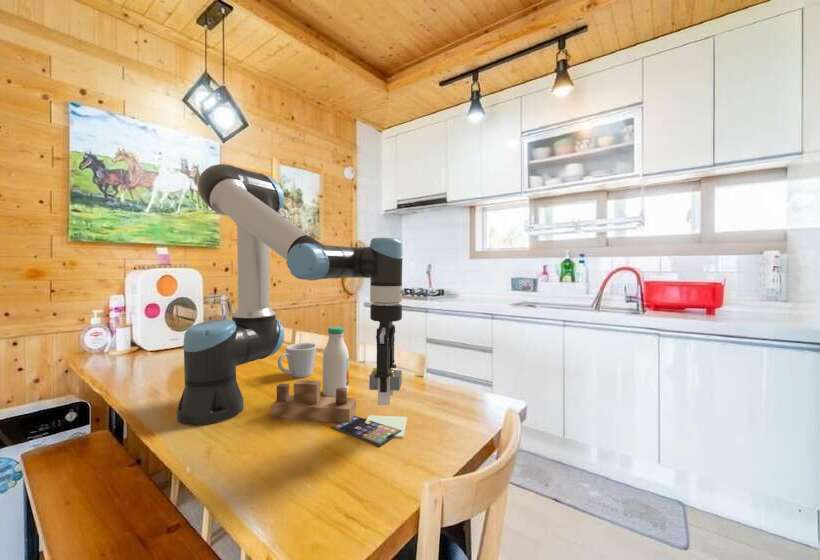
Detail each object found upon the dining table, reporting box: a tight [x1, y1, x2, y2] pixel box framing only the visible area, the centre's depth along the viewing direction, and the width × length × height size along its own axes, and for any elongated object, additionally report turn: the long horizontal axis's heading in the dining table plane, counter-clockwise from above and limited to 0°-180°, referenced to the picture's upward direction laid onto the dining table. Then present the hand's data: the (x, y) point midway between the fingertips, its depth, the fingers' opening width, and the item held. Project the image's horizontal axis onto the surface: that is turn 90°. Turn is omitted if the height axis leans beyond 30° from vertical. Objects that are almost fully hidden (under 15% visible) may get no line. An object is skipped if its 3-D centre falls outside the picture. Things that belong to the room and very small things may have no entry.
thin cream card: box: [366, 414, 408, 439], centre depth 86 cm, size 10×10×1 cm
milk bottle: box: [322, 325, 350, 397], centre depth 107 cm, size 8×8×20 cm
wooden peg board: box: [270, 379, 357, 423], centre depth 92 cm, size 20×7×8 cm, turn 85°
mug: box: [277, 342, 318, 379], centre depth 122 cm, size 10×15×10 cm
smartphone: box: [330, 414, 402, 448], centre depth 84 cm, size 8×15×1 cm, turn 55°
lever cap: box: [368, 367, 403, 392], centre depth 85 cm, size 7×5×4 cm
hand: (385, 399), depth 86 cm, fingers closed on lever cap, 5 cm apart
